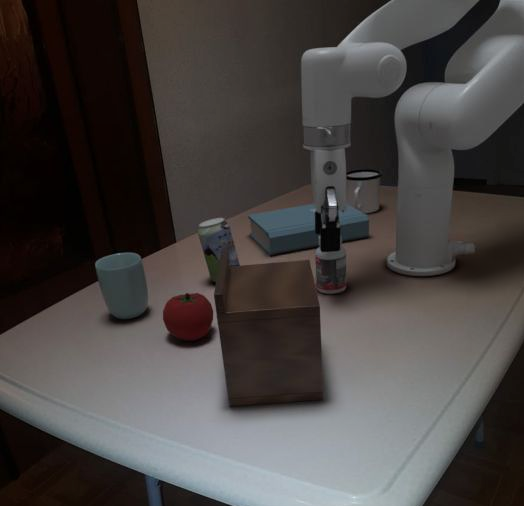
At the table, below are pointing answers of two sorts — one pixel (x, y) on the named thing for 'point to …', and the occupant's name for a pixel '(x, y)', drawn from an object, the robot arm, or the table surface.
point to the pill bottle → (331, 270)
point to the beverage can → (216, 244)
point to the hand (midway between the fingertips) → (327, 241)
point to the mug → (363, 189)
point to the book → (301, 228)
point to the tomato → (188, 316)
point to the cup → (123, 284)
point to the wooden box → (269, 332)
